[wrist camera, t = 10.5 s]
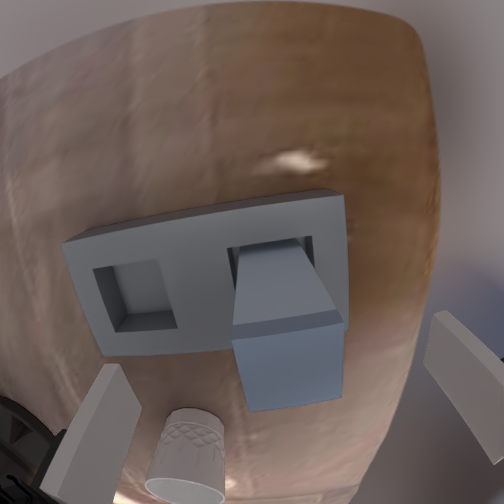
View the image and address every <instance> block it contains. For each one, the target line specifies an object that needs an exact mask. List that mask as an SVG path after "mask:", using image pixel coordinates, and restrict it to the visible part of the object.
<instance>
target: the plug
mask: <svg viewBox="0 0 504 504" xmlns="http://www.w3.org/2000/svg"><path fill="white" fill-rule="evenodd" d="M231 341H232V345H233V349H234V354H235V358H236V362H237V366H238V370H239V374H240V378H241V382H242V386H243V390H244V394H245V398H246V402H247V406H248V409H249V412H256V411H265V410H274V409H281V408H288V407H295V406H301V405H307V404H312V403H318V402H323V401H328V400H333V399H338V398H342V383H343V361H344V321H343V319H342V317H341V316H340V314H339V312H338V310H337V308H336V306H335V305H334V303H333V301H332V299H331V297H330V296H329V294H328V292H327V290H326V289H325V287H324V285H323V283H322V281H321V280H320V278H319V276H318V274H317V273H316V271H315V269H314V268H313V266H312V264H311V262H310V261H309V259H308V257H307V255H306V254H305V252H304V250H303V249H302V247H301V245H300V244H299V242H298V240H297V238H291V239H284V240H277V241H271V242H264V243H257V244H250V245H244V246H240V252H239V262H238V273H237V283H236V294H235V305H234V316H233V327H232V338H231Z"/></svg>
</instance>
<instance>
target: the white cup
mask: <svg viewBox="0 0 504 504" xmlns="http://www.w3.org/2000/svg"><path fill="white" fill-rule="evenodd" d="M144 485H145V488H146V489H147V490H148V491H149V492H150V493H151V494H153V495H154V496H156V497H158V498H160V499H162V500H164V501H167V502H170V503H173V504H222V503H223V502H224V501H225V447H224V425H223V424H222V422H221V421H220V419H219V418H217V417H216V416H214V415H213V414H211V413H210V412H207V411H203V410H200V409H196V408H182V409H179V410H175V411H173V412H172V413H171V414H170V415H169V416H168V417H167V420H166V423H165V426H164V430H163V432H162V434H161V436H160V438H159V442H158V444H157V447H156V450H155V453H154V456H153V459H152V462H151V465H150V468H149V471H148V474H147V477H146V481H145V484H144Z"/></svg>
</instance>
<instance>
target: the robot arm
mask: <svg viewBox="0 0 504 504" xmlns="http://www.w3.org/2000/svg"><path fill="white" fill-rule="evenodd" d="M423 364H424V366H425V367H426V368H427V370H428V371H429V372H430V373H431V375H432V376H433V378H434V379H435V380H436V382H437V383H438V384H439V386H440V387H441V388H442V390H443V391H444V393H445V394H446V395H447V397H448V398H449V399H450V401H451V402H452V404H453V405H454V406H455V408H456V409H457V410H458V412H459V413H460V415H461V416H462V418H463V419H464V421H465V422H466V423H467V425H468V426H469V428H470V429H471V431H472V432H473V434H474V435H475V437H476V438H477V440H478V441H479V443H480V444H481V446H482V447H483V449H484V451H485V452H486V454H487V455H488V457H489V458H490V460H491V462H492V463H493V465H495V464H496V463H497V462H499V461H500V460H502V459H503V458H504V358H502V359H499V358H498V357H497V356H496V355H495V354H494V353H493V352H492V351H490V349H488V348H487V347H486V346H485V345H484V344H483V343H482V342H481V341H480V340H479V339H478V338H477V337H476V336H475V335H474V334H472V333H471V332H470V331H469V330H468V329H467V328H466V327H465V326H464V325H462V324H461V323H460V322H459V321H458V320H457V319H456V318H455V317H453V316H452V315H451V314H450V313H449V312H448V311H447V310H445V311H441V312H438V313H435V314H433V316H432V322H431V328H430V333H429V338H428V343H427V348H426V353H425V357H424V362H423ZM141 411H142V407H141V405H140V403H139V401H138V399H137V397H136V396H135V394H134V392H133V390H132V388H131V386H130V384H129V382H128V380H127V378H126V376H125V374H124V372H123V370H122V368H121V366H120V364H104V365H103V367H102V369H101V370H100V372H99V374H98V376H97V377H96V379H95V381H94V383H93V384H92V386H91V388H90V390H89V391H88V393H87V395H86V397H85V398H84V400H83V402H82V404H81V406H80V407H79V409H78V411H77V413H76V415H75V417H74V419H73V420H72V422H71V424H70V426H69V428H68V430H66V429H62V430H61V431H60V432H59V433H58V434H57V435H56V436H55V437H54V436H53V435H52V433H51V432H50V431H49V430H48V429H47V428H46V427H45V426H44V425H43V424H42V423H41V422H40V421H39V420H38V419H36V418H35V417H34V416H33V415H32V414H30V413H29V412H28V411H27V410H25V409H24V408H23V407H21V406H20V405H18V404H17V403H15V402H14V401H12V400H10V399H8V398H5V397H0V504H112V503H113V499H114V496H115V492H116V489H117V485H118V482H119V479H120V475H121V472H122V469H123V466H124V462H125V459H126V456H127V453H128V450H129V447H130V444H131V441H132V438H133V435H134V432H135V429H136V426H137V423H138V420H139V417H140V414H141Z"/></svg>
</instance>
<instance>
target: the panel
mask: <svg viewBox="0 0 504 504" xmlns="http://www.w3.org/2000/svg"><path fill="white" fill-rule="evenodd" d="M291 238H297V240H298V242H299V244H300V245H301V247H302V249H303V250H304V252H305V254H306V255H307V257H308V259H309V261H310V262H311V264H312V266H313V268H314V269H315V271H316V273H317V274H318V276H319V278H320V280H321V281H322V283H323V285H324V287H325V289H326V290H327V292H328V294H329V296H330V297H331V299H332V301H333V303H334V305H335V306H336V308H337V310H338V312H339V314H340V316H341V317H342V319H343V321H344V332H346V331H349V276H348V249H347V231H346V216H345V204H344V195H342V194H340V193H337V192H335V191H332V190H330V189H320V190H311V191H303V192H295V193H288V194H280V195H273V196H266V197H259V198H252V199H246V200H239V201H233V202H227V203H221V204H215V205H209V206H203V207H197V208H192V209H186V210H181V211H176V212H170V213H165V214H160V215H155V216H150V217H145V218H140V219H135V220H130V221H126V222H121V223H116V224H112V225H107V226H103V227H99V228H94V229H90V230H86V231H84V232H82V233H80V234H78V235H76V236H74V237H72V238H71V239H69V240H67V241H65V242H63V243H61V246H62V249H63V253H64V256H65V260H66V263H67V266H68V269H69V272H70V275H71V278H72V281H73V284H74V287H75V290H76V293H77V296H78V298H79V301H80V304H81V306H82V309H83V311H84V314H85V316H86V319H87V321H88V324H89V326H90V328H91V331H92V333H93V335H94V338H95V340H96V342H97V344H98V346H99V349H100V351H101V353H102V355H103V356H145V355H168V354H184V353H198V352H210V351H220V350H230V349H233V345H232V341H231V338H232V327H233V316H234V305H235V294H236V283H237V273H238V262H239V252H240V246H244V245H250V244H257V243H264V242H271V241H277V240H284V239H291Z"/></svg>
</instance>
